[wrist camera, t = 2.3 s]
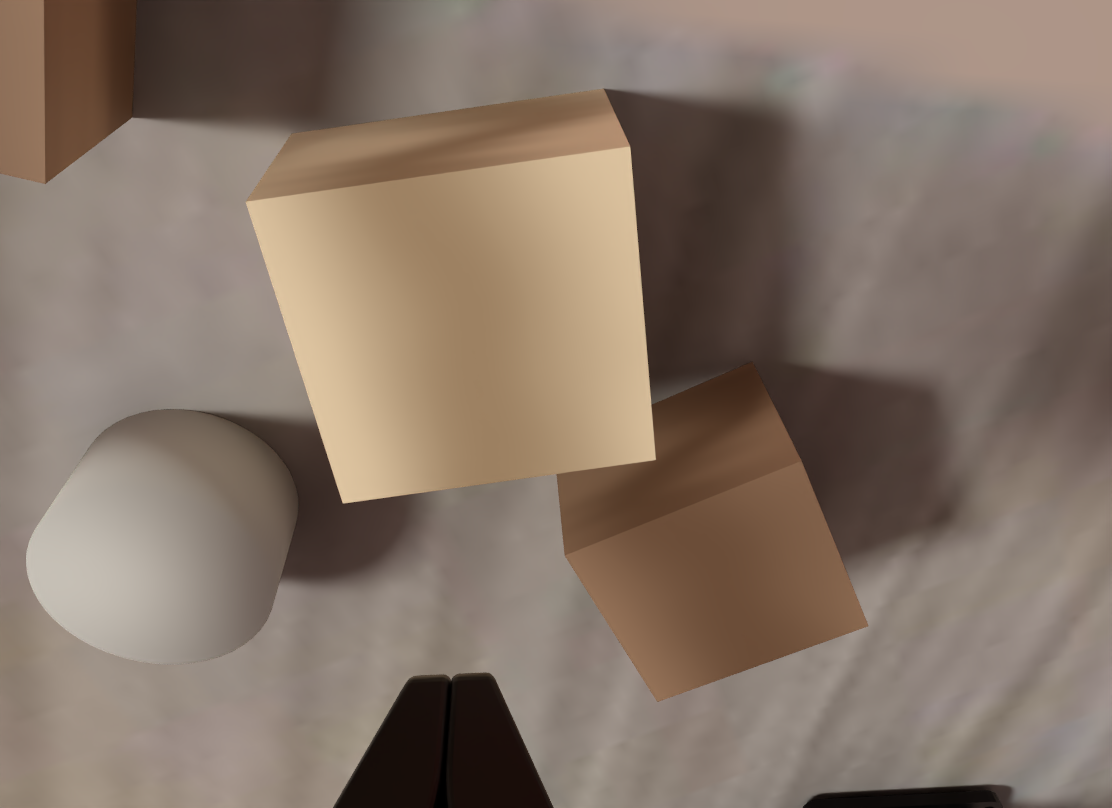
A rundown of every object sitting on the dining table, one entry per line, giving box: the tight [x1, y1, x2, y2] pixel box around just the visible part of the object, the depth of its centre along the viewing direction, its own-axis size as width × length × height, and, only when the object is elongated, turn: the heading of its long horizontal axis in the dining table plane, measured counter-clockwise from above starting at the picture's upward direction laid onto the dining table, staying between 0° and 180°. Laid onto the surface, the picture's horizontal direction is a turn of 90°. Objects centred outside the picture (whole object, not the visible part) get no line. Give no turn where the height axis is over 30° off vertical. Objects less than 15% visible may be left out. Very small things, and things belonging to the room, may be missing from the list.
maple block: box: [246, 89, 656, 504], centre depth 17 cm, size 6×6×4 cm
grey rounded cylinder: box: [26, 409, 299, 664], centre depth 20 cm, size 5×5×3 cm
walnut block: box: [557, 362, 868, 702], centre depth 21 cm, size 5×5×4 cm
